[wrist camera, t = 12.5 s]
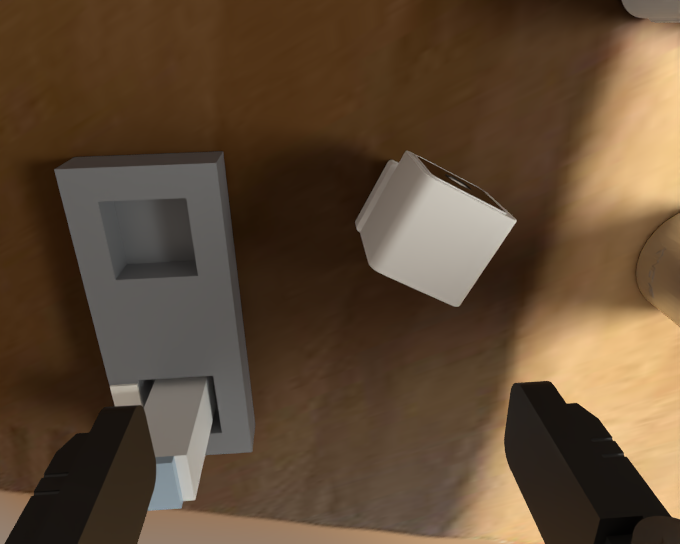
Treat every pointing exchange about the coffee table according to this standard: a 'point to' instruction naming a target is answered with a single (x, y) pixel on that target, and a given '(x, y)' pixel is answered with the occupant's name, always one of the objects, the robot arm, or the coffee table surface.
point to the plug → (179, 436)
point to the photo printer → (654, 10)
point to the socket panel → (162, 278)
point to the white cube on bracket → (431, 228)
